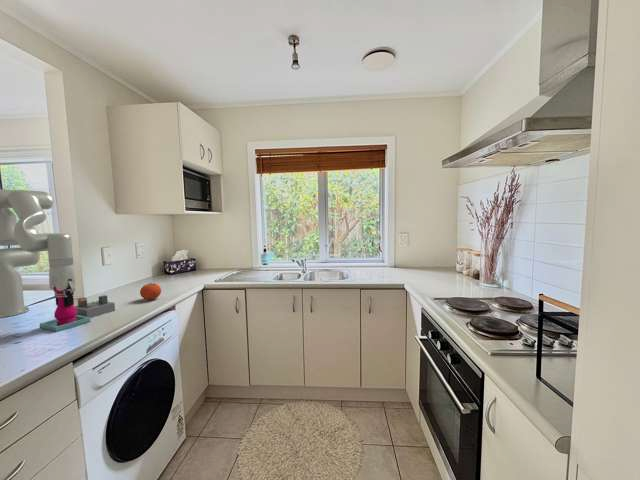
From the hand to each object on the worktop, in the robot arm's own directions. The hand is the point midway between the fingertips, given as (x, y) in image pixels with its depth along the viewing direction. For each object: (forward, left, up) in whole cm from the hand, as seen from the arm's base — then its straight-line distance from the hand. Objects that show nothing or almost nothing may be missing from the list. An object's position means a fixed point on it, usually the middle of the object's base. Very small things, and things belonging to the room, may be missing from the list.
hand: (65, 304), depth 119 cm
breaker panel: (-7, +14, -9) cm, 18 cm away
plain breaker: (-4, +17, -5) cm, 18 cm away
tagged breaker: (-9, +11, -5) cm, 15 cm away
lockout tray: (-1, 0, -9) cm, 9 cm away
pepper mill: (+1, 0, -9) cm, 9 cm away
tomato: (-2, +40, -9) cm, 41 cm away
